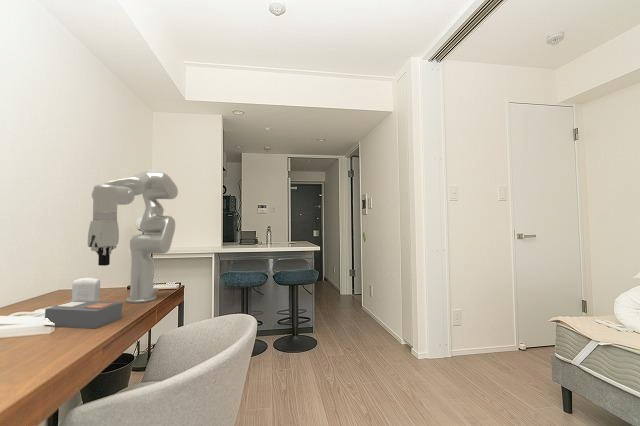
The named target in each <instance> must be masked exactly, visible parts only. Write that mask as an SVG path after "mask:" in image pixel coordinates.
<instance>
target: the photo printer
mask: <svg viewBox="0 0 640 426" xmlns="http://www.w3.org/2000/svg"><path fill="white" fill-rule="evenodd" d="M100 294H101V281H100V279H98V278H94V277H84V278H83V277H81V278H78V279H75V280H73V283H72V288H71V301H70V302H72V301H76V300H78V301H100Z"/></svg>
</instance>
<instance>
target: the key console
mask: <svg viewBox="0 0 640 426" xmlns="http://www.w3.org/2000/svg"><path fill="white" fill-rule="evenodd" d="M70 302H71V301H69V302H68V303H70ZM72 302H87V303H86V304H83V305H79V306H76V307H72V308H70V307H57V306H59V305H62V304H63V303H62V304H58V305H55V306H50V307H46V308H45V309H44V319H45V318H48V319H49V320H50V321H51V322H53V323H55V326H54V327H57V328H75V329H76V328H79V329H80V328H81V329H98V328H100V327H103V326H106V325H108V324H111V323H113V322H116V321H118V320H121V319H123V317H122V316H123V302H122V301H121V302H119V301H101V300H99V301H78V300H76V301H72ZM66 303H67V302H66ZM66 303H64V304H66ZM97 303H112V304H113V305H110V306H107V307H104V308H101V309H93V308H85V307H87V306H90V305H94V304H97Z"/></svg>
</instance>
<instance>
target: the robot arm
mask: <svg viewBox="0 0 640 426" xmlns="http://www.w3.org/2000/svg"><path fill="white" fill-rule="evenodd" d="M178 190H179V189H178V186H177V185H176V183H175V182H174V181H173V180H172V178H171V177H170V176H169V174H166V173H165V172H162V171H141V172H139V173H137V174H135V175H133V176H131V177H125V178H121V179H115V180H110V181H105V182H103V183H100V184H95V185H94V187H93V190H92V191H91V192H92V193H91V198H92V201H93V202H92V220H91V221H90V223H89V228H88V232H87V233H88V234H87V247H88V248H90V251H91V252H95V253H96V255H97V256H98V264H97V265H98V266H101V267H106V266H109V265H110V261H111V259H110V258H111V257H110V256H111V254H112V251H113V250H116V248H117V245H119V239H120V234H119V233H120V232H119V222H118V206H119V205H120V206H121V205H123V206H125V205H129V204H131V203H133V202H134V200H135V197H137V196H140V195H142V198H143V201H144V205H145V206H144V207H145V209H144V212H143V215H142V217H141V221H140V224H139V230H140V232H142V233H140V234H135V235H132V237H131V239H130V240H129V248H130V256H131V262H130V263H131V267H130V290H129V297H126V298H125V302H126V303H132V304H134V303H136V304H137V303H147V302H151V301H154V300H156V299H157V295H156V294H155V293H156V292H159V289H158V287H155V288H154V280H155V279H154V276H155V260H154V258H153V257H152V256H151V255H152V254H155V255H157V254H158V255H160V254H161V255H162V254H163V255H164V254H167V253H168V252H169V251H170V250H171V249H170V248H171V245H172V242H173V238H174V234H175V230H176V220H175V218H174V217H172V216H170V215H164V212H165V211H164V210H165V209H164V207H163V205H162V204H161V203H160V201H159V200H174V199H176V198H177V196H178V193H179V191H178Z"/></svg>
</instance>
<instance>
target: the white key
mask: <svg viewBox="0 0 640 426" xmlns="http://www.w3.org/2000/svg"><path fill="white" fill-rule="evenodd" d="M69 302H70V303H69ZM69 302H66V304H65V303H62V305H61V304H58V305H59V306H57V305H56V306H57V307H70V308H72V307H76V306H79V305H83V304H86V303H87V302H71V301H69Z"/></svg>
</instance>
